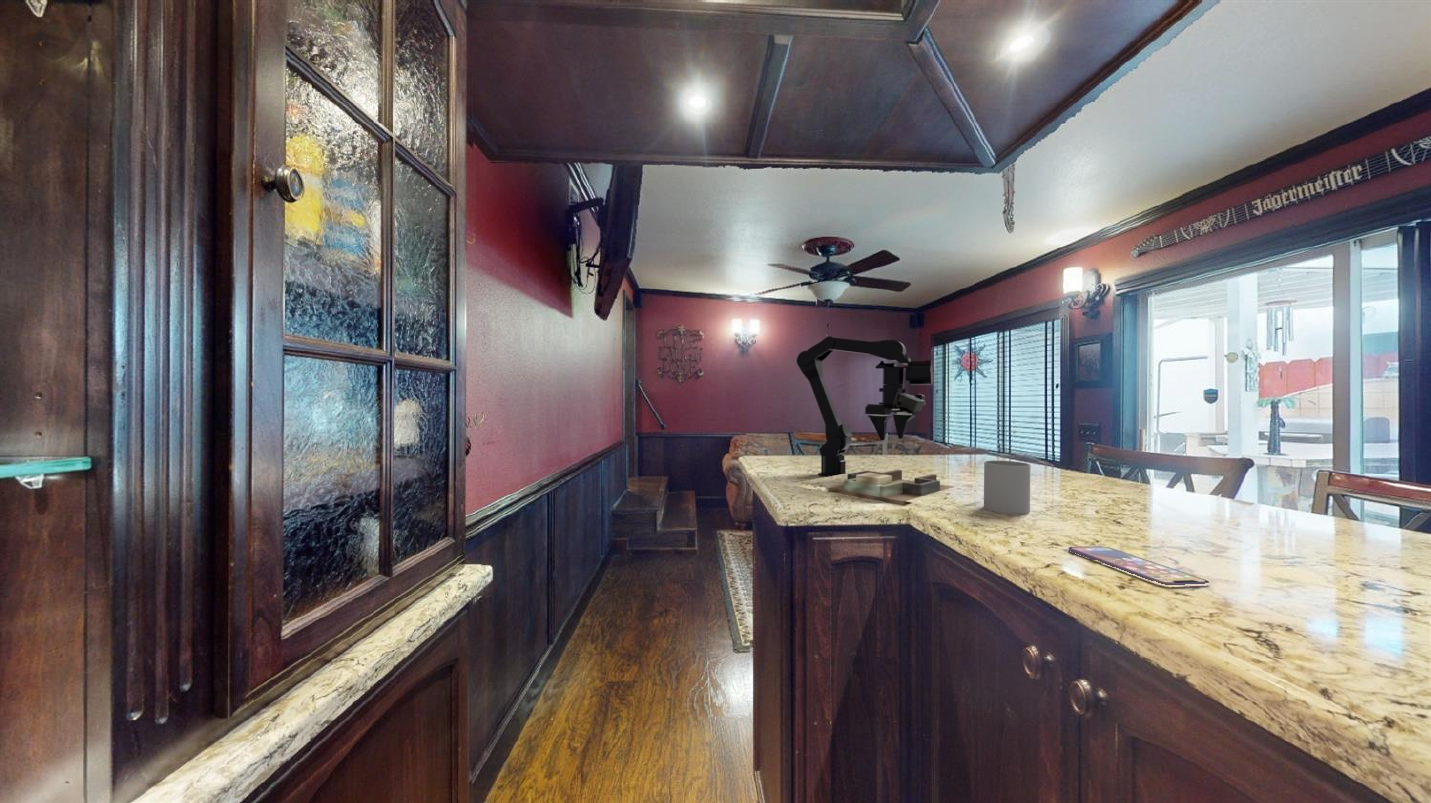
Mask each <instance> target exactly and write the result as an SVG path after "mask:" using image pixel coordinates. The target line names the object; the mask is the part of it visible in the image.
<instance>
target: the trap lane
mask: <svg viewBox="0 0 1431 803" xmlns="http://www.w3.org/2000/svg"><path fill="white" fill-rule="evenodd" d="M869 472H870V473H877V474H884V475H891V476H892V483H891V484H887V485H877V484H870V483H864V482H858V481H856V475H859V474H864V473H869ZM846 474H847V479H844V481H843V484H839V485H835V486H829V487H828V490H827V491H828V493H833V494H834V493H835V494H838V493H839V495H845V496H850V497H856V498H861V499H865V498H867V499H866V500H870V499H871V501H872V500H873V501H876V502H882V503H888V504H892V505H898V506H903V507H905V506H907V505H911V504H914V502H912V501H910V500H914V499H917V498H920V497H923V496H927V495H931V494H934V493H938V492H942V491H945V490H948V489H949V490H950V489H952V488H954V486H951V485H945V484H941V482H940V481H941V480H939V479H937V477H938V475H937V474H934V473H931V474H926V475H923V476H918V477H914V480H910V479H903V470H902V469H894V470H890V471H885V472H881V471H880V472H878V471H873V470H872V471H871V470H864V471H858V472H853V473H846Z"/></svg>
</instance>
